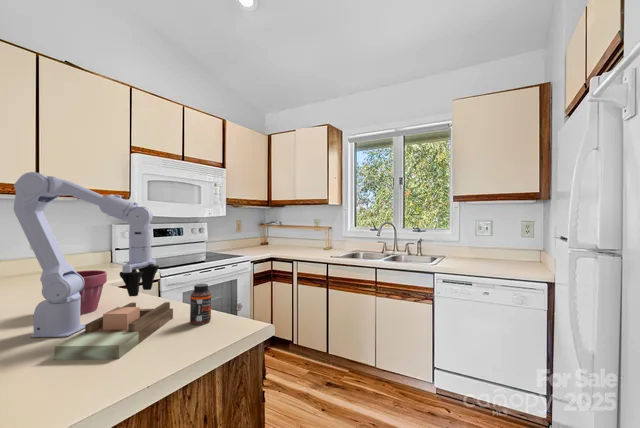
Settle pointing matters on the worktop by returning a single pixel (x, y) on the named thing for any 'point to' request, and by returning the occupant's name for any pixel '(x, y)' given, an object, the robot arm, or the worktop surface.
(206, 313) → the supplement bottle
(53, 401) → the worktop surface
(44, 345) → the worktop surface
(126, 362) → the worktop surface
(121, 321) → the block
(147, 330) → the chute
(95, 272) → the plant pot
